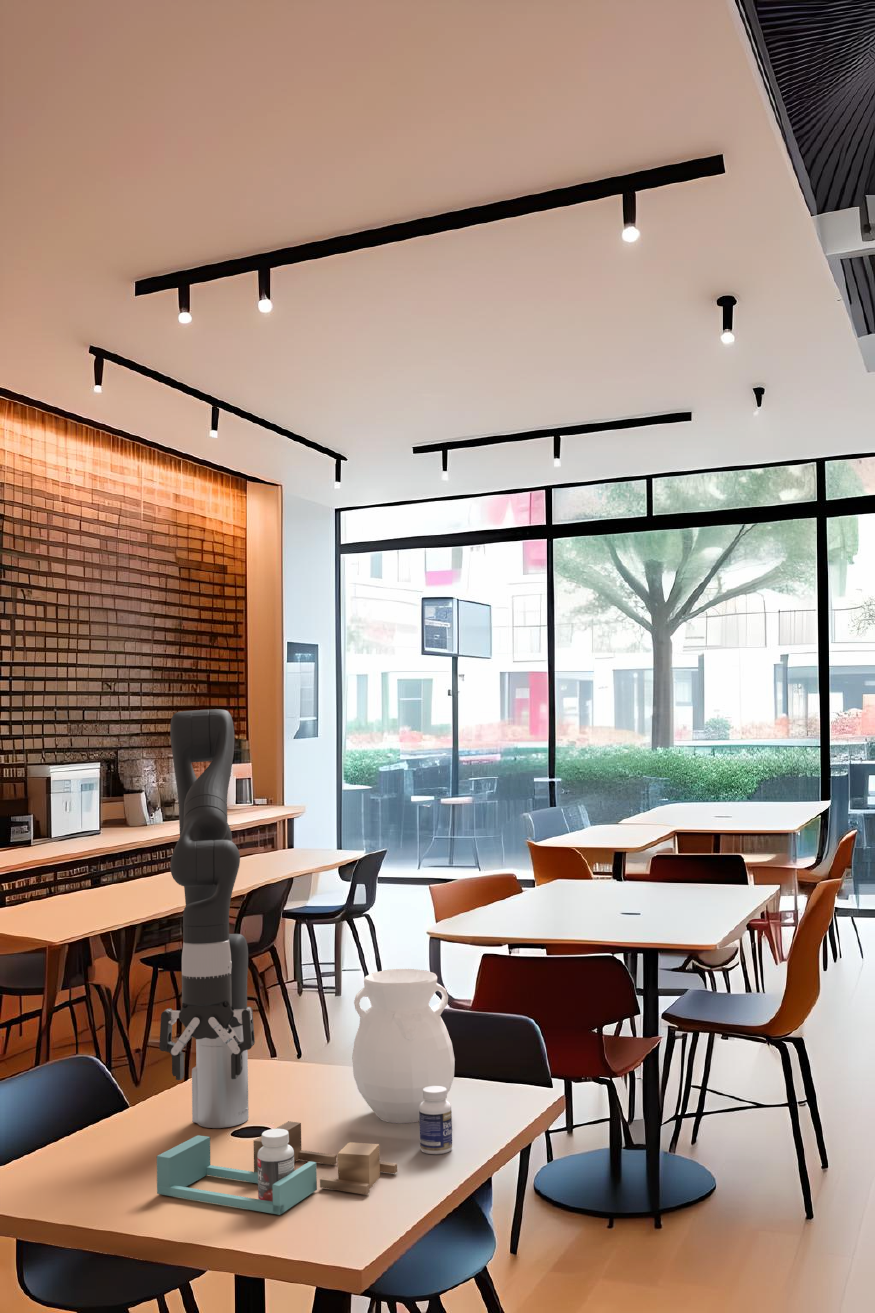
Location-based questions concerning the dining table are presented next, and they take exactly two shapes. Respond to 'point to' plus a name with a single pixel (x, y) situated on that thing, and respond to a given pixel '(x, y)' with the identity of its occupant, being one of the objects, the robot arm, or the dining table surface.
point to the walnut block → (359, 1163)
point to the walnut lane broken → (320, 1161)
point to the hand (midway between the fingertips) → (207, 1078)
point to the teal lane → (194, 1164)
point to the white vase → (401, 1043)
